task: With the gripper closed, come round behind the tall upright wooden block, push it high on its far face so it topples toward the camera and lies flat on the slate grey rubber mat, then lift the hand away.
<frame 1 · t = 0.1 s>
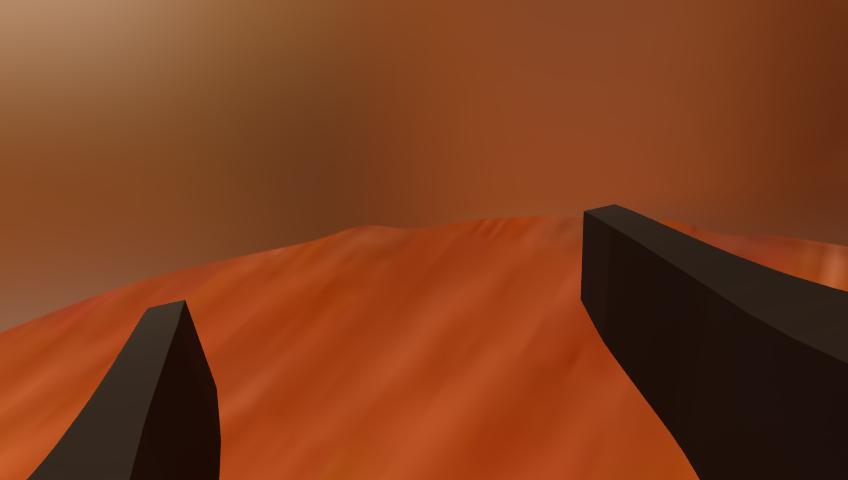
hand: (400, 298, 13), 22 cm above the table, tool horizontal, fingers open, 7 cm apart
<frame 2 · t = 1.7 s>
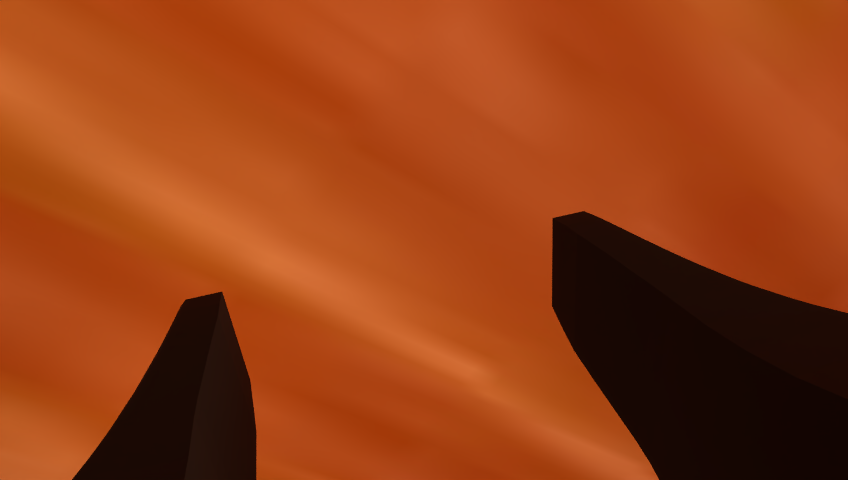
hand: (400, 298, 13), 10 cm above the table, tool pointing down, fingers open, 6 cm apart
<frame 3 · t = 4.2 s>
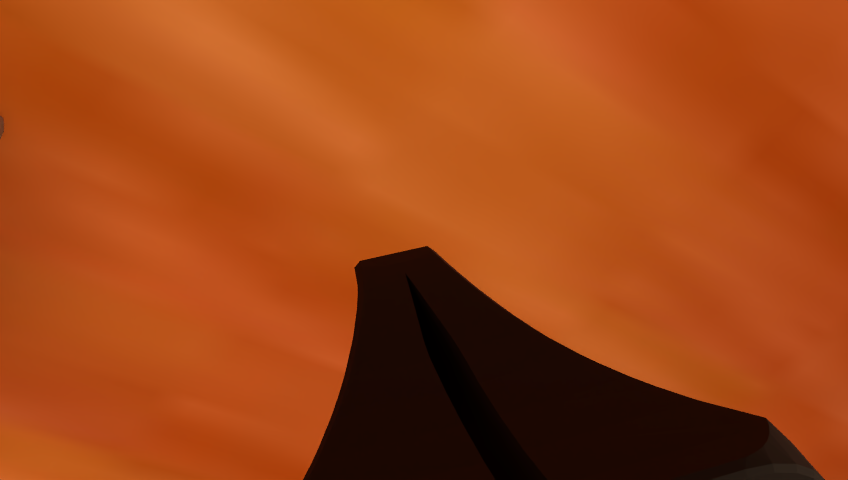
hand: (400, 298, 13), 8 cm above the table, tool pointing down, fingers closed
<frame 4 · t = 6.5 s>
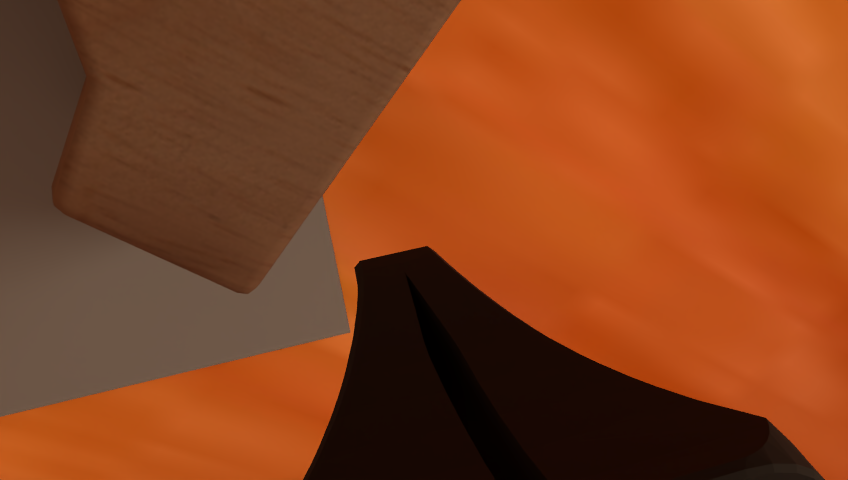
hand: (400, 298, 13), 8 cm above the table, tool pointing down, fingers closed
wooden block: (358, 113, 16), point 3 cm above the table, touching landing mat
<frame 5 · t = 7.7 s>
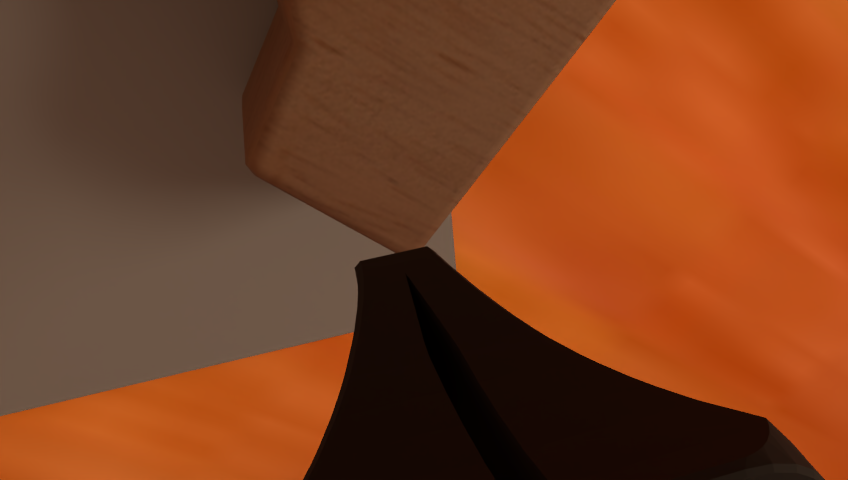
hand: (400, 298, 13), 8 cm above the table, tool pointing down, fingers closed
wooden block: (509, 85, 17), point 3 cm above the table, touching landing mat
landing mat: (129, 162, 19), on the table
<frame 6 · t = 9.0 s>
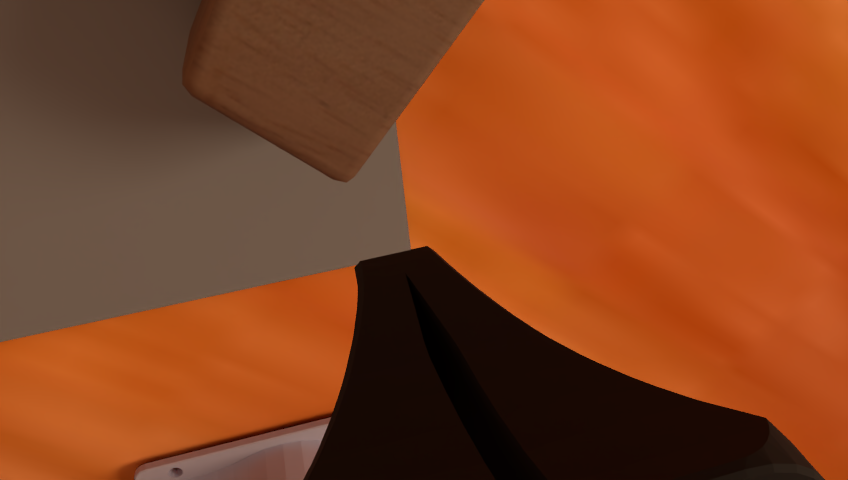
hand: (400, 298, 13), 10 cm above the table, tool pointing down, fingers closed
wooden block: (444, 22, 18), point 3 cm above the table, touching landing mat
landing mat: (84, 99, 19), on the table
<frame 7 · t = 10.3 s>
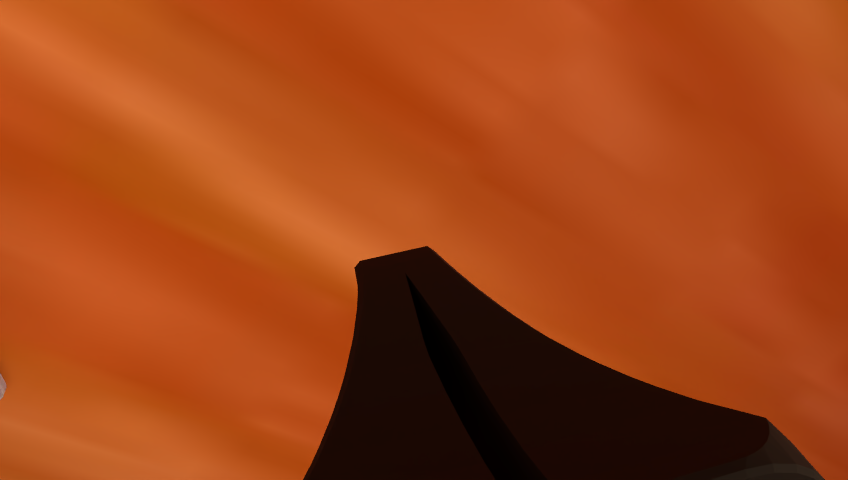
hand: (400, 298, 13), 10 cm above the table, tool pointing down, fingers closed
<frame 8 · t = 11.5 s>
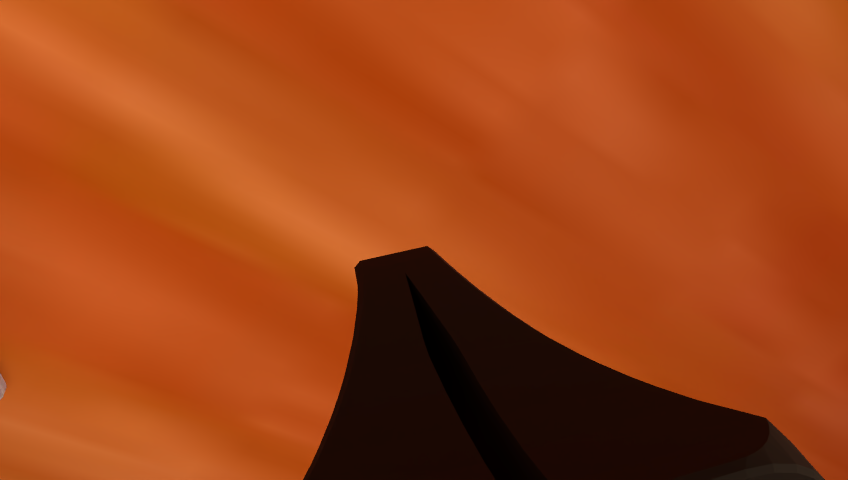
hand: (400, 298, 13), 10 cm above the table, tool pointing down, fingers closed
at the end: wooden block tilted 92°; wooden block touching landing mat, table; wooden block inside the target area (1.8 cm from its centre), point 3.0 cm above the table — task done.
